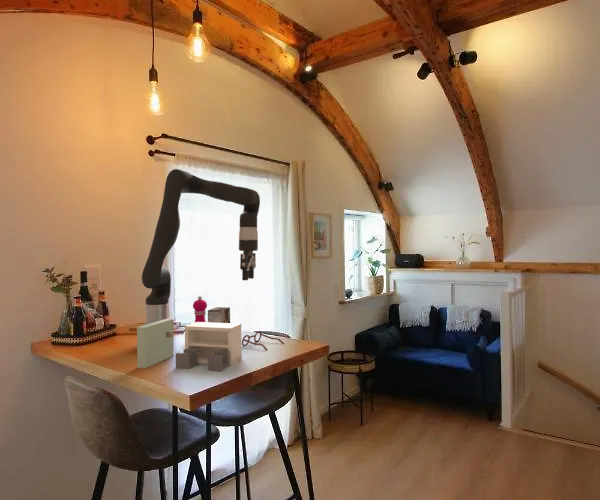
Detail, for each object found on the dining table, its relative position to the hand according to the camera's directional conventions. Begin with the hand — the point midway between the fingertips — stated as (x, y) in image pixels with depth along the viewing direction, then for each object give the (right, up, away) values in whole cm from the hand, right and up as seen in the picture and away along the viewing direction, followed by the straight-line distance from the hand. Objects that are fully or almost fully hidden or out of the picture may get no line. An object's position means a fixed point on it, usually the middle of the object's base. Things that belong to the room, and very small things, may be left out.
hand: (248, 279), depth 171 cm
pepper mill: (-23, -29, +16) cm, 40 cm away
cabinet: (-12, -28, -19) cm, 36 cm away
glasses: (+5, -29, +9) cm, 31 cm away
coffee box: (-12, -29, +5) cm, 32 cm away
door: (-31, -29, -16) cm, 45 cm away
